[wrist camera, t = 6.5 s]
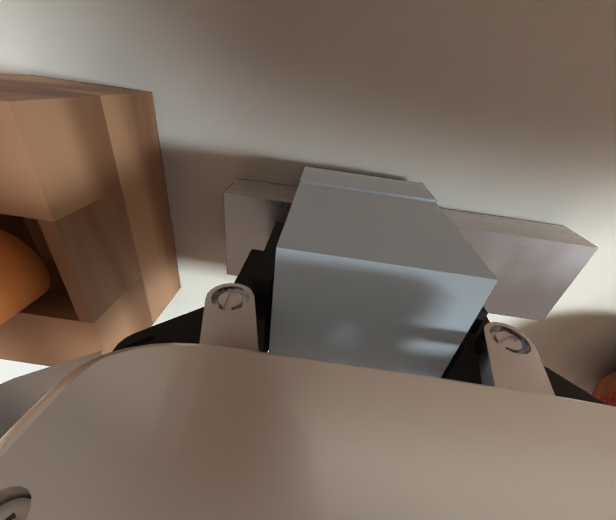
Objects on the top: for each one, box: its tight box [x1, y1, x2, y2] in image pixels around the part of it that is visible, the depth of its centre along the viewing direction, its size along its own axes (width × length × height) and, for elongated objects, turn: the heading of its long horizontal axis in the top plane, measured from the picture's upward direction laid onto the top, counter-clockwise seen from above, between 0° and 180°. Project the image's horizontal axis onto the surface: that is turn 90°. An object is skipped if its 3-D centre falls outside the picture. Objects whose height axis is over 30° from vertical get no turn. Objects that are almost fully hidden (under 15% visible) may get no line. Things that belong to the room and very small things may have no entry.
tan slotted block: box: [0, 74, 181, 366], centre depth 12 cm, size 5×10×6 cm, turn 173°
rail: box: [224, 179, 598, 321], centre depth 13 cm, size 15×4×2 cm, turn 83°
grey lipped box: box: [269, 166, 498, 378], centre depth 11 cm, size 5×6×7 cm
